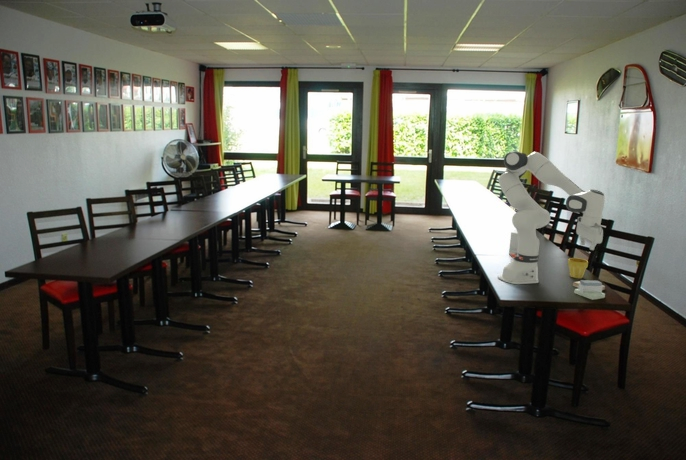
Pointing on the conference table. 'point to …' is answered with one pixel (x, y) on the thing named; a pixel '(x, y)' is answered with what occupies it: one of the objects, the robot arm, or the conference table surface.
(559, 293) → the conference table surface
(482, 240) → the conference table surface
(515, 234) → the supplement box
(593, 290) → the housing
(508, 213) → the conference table surface
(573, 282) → the stand
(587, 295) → the stand
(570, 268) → the plant pot
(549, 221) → the robot arm
